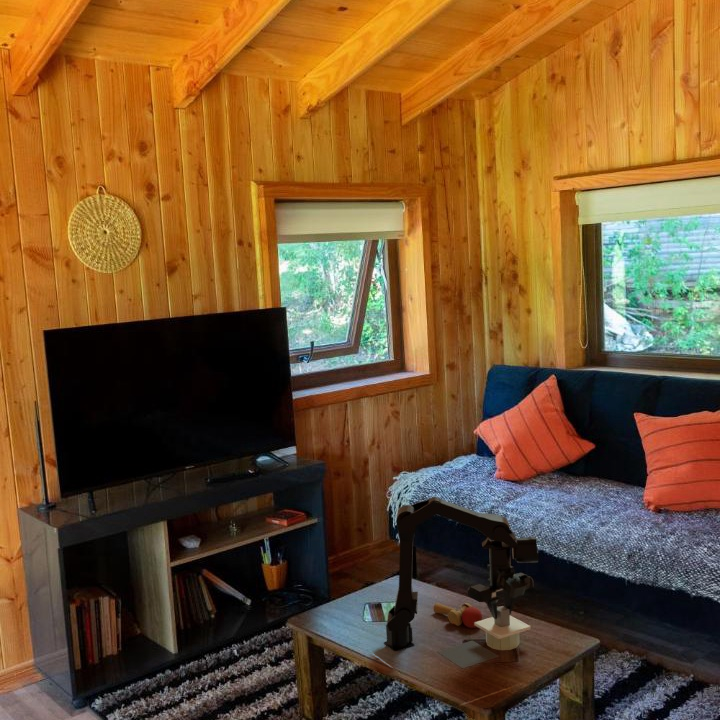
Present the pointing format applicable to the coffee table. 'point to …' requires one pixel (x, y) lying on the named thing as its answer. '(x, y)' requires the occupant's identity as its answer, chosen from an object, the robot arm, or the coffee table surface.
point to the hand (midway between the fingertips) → (501, 616)
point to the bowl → (503, 642)
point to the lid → (502, 624)
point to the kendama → (460, 614)
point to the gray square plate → (467, 654)
